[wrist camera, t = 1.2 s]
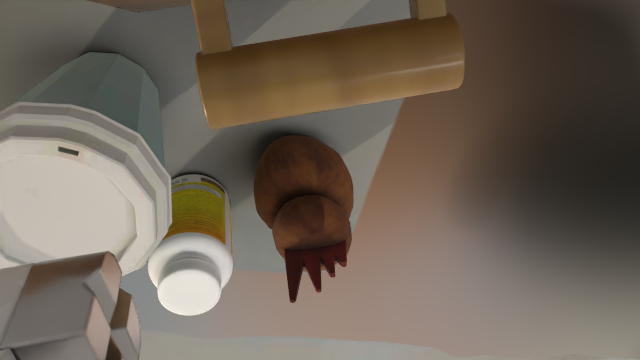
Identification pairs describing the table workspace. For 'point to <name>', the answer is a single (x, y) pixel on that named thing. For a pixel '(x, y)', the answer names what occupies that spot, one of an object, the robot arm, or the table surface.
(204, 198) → the supplement bottle
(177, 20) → the table surface
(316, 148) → the wooden figurine
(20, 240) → the disposable coffee cup
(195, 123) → the table surface
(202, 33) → the lid
